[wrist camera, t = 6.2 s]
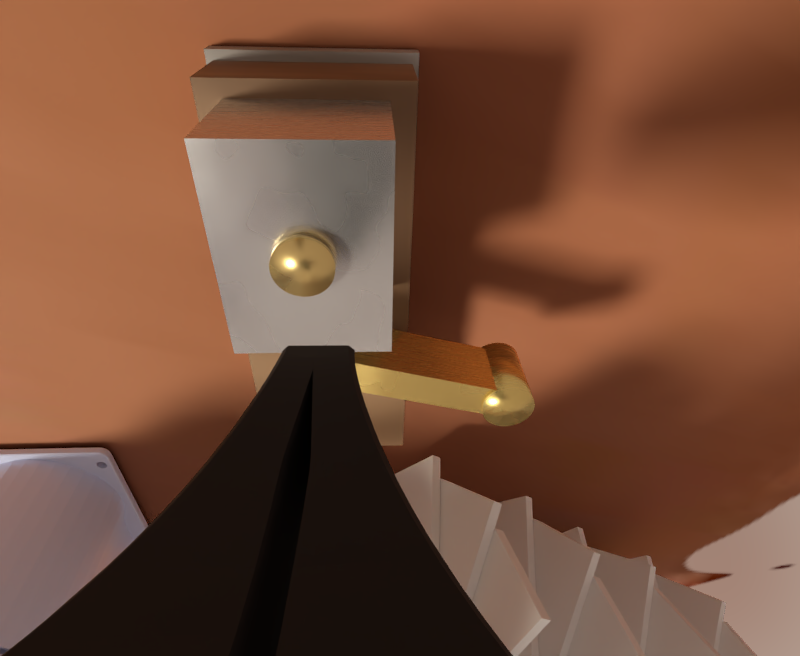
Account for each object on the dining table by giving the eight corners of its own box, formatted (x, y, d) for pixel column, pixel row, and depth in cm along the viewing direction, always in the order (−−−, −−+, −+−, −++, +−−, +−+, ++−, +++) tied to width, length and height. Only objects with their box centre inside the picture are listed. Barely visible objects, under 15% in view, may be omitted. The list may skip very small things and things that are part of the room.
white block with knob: (388, 286, 17) (392, 360, 14) (256, 286, 17) (231, 362, 14) (390, 100, 14) (396, 146, 11) (222, 98, 13) (178, 144, 10)
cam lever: (525, 348, 19) (543, 395, 17) (506, 381, 20) (521, 429, 18) (307, 301, 17) (298, 348, 15) (298, 340, 18) (289, 389, 16)
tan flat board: (403, 401, 25) (407, 449, 23) (274, 403, 25) (264, 452, 22) (417, 49, 16) (426, 68, 13) (208, 45, 15) (178, 64, 13)
